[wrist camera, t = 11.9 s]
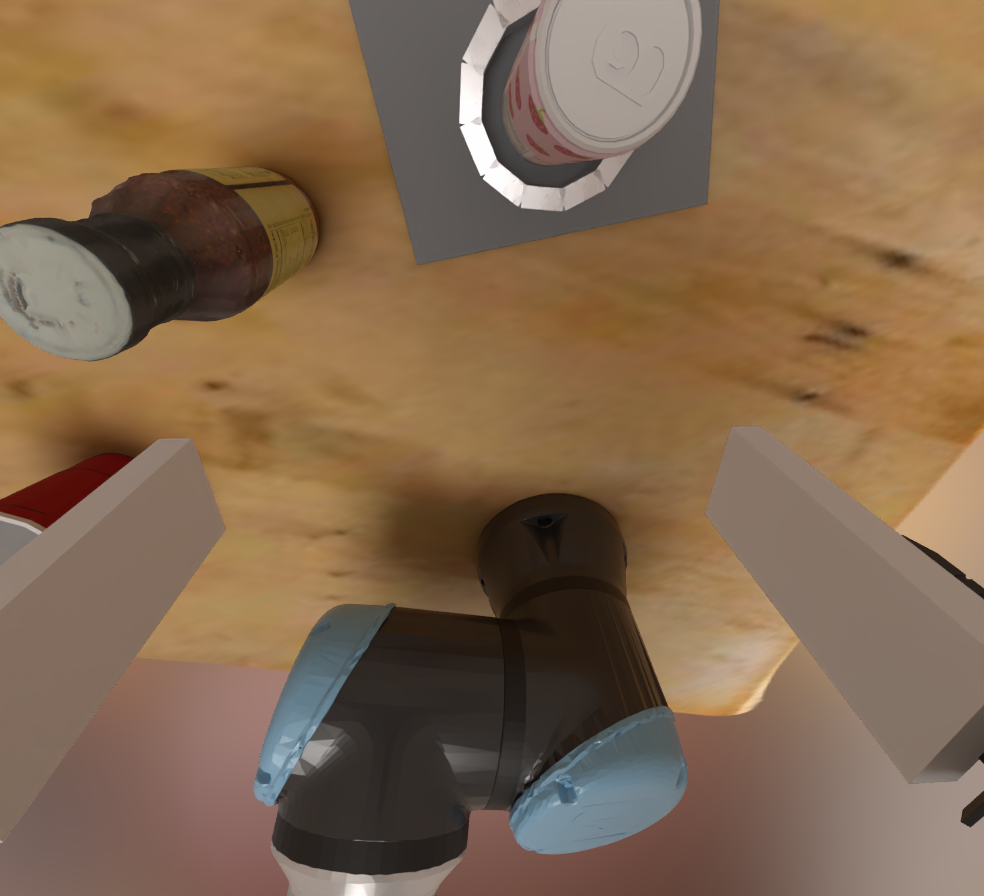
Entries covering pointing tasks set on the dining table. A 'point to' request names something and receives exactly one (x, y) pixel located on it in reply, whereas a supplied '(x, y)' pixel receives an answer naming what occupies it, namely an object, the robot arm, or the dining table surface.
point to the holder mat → (446, 158)
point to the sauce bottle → (153, 258)
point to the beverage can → (599, 77)
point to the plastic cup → (51, 500)
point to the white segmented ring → (500, 20)
